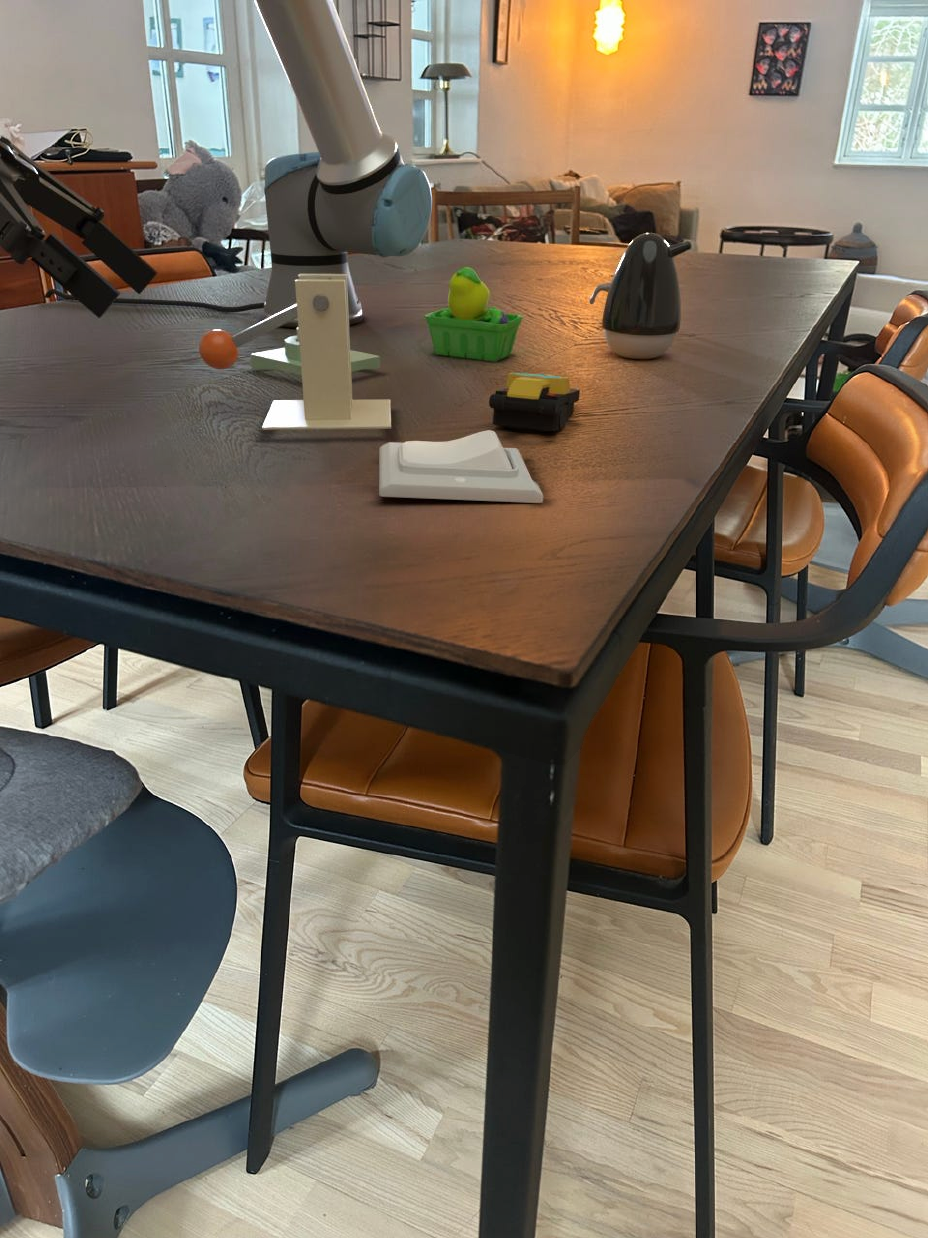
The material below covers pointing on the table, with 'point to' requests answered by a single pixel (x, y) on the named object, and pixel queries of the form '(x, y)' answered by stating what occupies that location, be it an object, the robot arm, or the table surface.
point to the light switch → (456, 470)
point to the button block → (291, 360)
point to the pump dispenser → (644, 299)
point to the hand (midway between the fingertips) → (131, 294)
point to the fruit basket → (472, 322)
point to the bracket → (325, 365)
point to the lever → (238, 339)
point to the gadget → (534, 402)
